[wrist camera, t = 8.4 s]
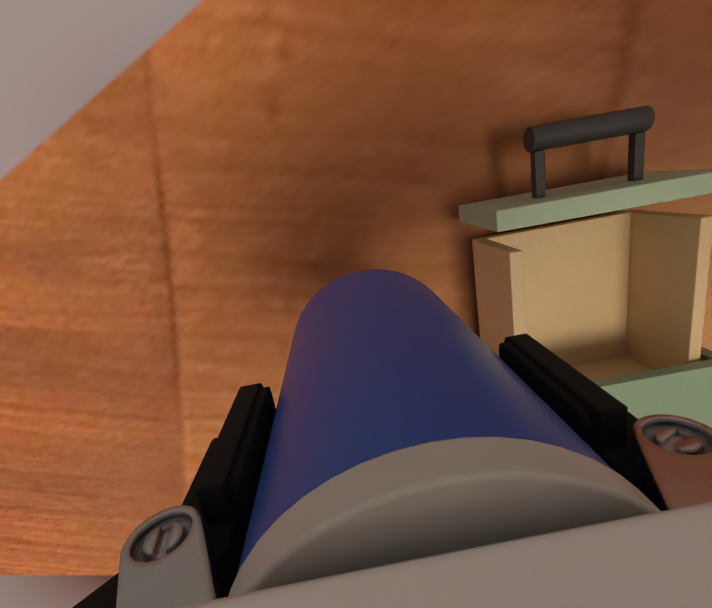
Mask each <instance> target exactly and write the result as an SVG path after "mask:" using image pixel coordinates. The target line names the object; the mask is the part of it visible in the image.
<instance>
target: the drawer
mask: <svg viewBox="0 0 712 608" xmlns="http://www.w3.org/2000/svg"><path fill="white" fill-rule="evenodd" d="M654 119H655V113H654V110H653V108H652V107H650V106H642V107H636V108H630V109H625V110H619V111H614V112H608V113H603V114H597V115H591V116H586V117H580V118H575V119H569V120H564V121H558V122H552V123H547V124H541V125H536V126H530V127H528V128H527V129H526V130H525V132H524V137H523V142H524V147H525V149H526V151H527V152H531V153H530V156H531V183H532V192H530V193H524V194H519V195H513V196H508V197H502V198H496V199H491V200H485V201H480V202H474V203H469V204H463V205H459V206H458V210H459V221H460V222H462V223H466V224H470V225H473V226H477V227H481V228H484V229H488V230H492V231H496V232H502V231H508V230H513V229H519V228H524V227H530V226H535V225H541V224H546V223H552V222H557V221H563V220H568V219H574V218H579V217H585V216H591V215H596V214H602V213H607V212H613V211H618V210H624V209H629V208H635V207H640V206H646V205H651V204H657V203H662V202H668V201H673V200H679V199H684V198H690V197H695V196H701V195H706V194H712V169H700V170H680V171H659V172H644V150H645V131H647V130H649V129H650V128H651V126H652V125H653V122H654ZM629 134H630V135H629ZM623 135H629V146H628V175H624V176H618V177H613V178H607V179H602V180H596V181H591V182H585V183H580V184H574V185H568V186H563V187H557V188H552V189H546V190H545V154H544V150H545V149H551V148H556V147H562V146H567V145H573V144H579V143H584V142H590V141H595V140H601V139H606V138H612V137H617V136H623ZM711 245H712V216H711V215H698V214H684V213H671V212H657V211H644V210H629V211H624V212H618V213H613V214H607V215H601V216H596V217H590V218H585V219H579V220H574V221H568V222H563V223H557V224H552V225H546V226H541V227H535V228H530V229H524V230H519V231H513V232H508V233H502V234H497V235H491V236H486V237H480V238H474V239H472V246H473V258H474V270H475V282H476V294H477V306H478V318H479V330H480V339H481V340H482V341H483V342H484V343H485V344H486V345H487V346H488V347H489V348H490V349H491V350H492V351H493V352H494V353H495V354H496V355H497V356H498V357H499V344H500V343H504V339H505V338H506V337H509V336H514V335H520V334H525V333H526V334H528V335H529V336H531V337H532V338H534V339H535V340H536V341H538V342H539V343H540V344H542V345H543V346H545V347H546V348H547V349H549V350H550V351H551V352H553V353H554V354H556V355H557V356H558V357H560V358H561V359H562V360H564V361H565V362H566V363H568V364H569V365H571V366H572V367H573V368H575V369H576V370H577V371H579V372H580V373H582V374H583V375H584V376H586V377H587V378H588V379H590V380H591V381H595V380H601V379H606V378H612V377H617V376H623V375H628V374H634V373H639V372H644V371H650V370H655V369H661V368H666V367H672V366H677V365H683V364H688V363H693V362H699V361H700V355H701V345H702V335H703V325H704V315H705V305H706V295H707V285H708V275H709V265H710V255H711Z"/></svg>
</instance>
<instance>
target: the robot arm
mask: <svg viewBox="0 0 712 608" xmlns="http://www.w3.org/2000/svg"><path fill="white" fill-rule="evenodd" d="M499 358H500V359H501V360H502V361H503V362H504V363H506V364H507V365H508V366H509V367H510V368H511V369H512V370H513V371H514V372H515V373H516V374H517V375H518V376H519V377H520V378H521V379H522V380H523V381H524V382H525V383H526V384H527V385H528V386H529V387H530V388H531V389H532V390H533V391H534V392H535V393H536V394H537V395H538V396H539V397H540V398H541V399H542V400H543V401H544V402H545V403H546V404H547V405H548V406H549V407H550V408H551V409H552V410H553V411H554V412H555V413H556V414H557V415H558V416H559V417H560V418H561V419H562V420H563V421H564V422H565V423H566V424H567V425H568V426H569V427H570V428H571V429H572V430H573V431H574V432H575V433H576V434H577V435H578V436H579V437H580V438H581V439H582V440H584V441H585V442H586V443H587V444H588V445H589V446H590V447H591V448H592V449H593V450H594V451H595V452H596V453H597V454H598V455H599V456H600V457H601V458H602V459H603V460H604V461H605V462H606V463H607V464H608V465H609V466H610V467H611V468H612V469H613V470H614V471H615V472H617V473H619V474H620V475H621V476H622V477H624V478H625V479H626V480H628V481H629V482H630V483H631V484H633V485H634V486H635V487H636V488H638V489H639V490H640V491H641V492H642V493H643V494H644V495H645V496H646V497H647V498H648V499H649V500H650V501H651V502H652V503H653V504H654V505H655V506H656V507H657V508H658V509H659V510H660V511H661V512H656V513H650V514H645V515H640V516H634V517H629V518H624V519H619V520H613V521H608V522H603V523H598V524H592V525H587V526H582V527H576V528H571V529H566V530H561V531H555V532H550V533H545V534H540V535H534V536H529V537H524V538H519V539H514V540H509V541H504V542H498V543H493V544H488V545H483V546H478V547H473V548H468V549H463V550H457V551H452V552H447V553H442V554H437V555H432V556H427V557H422V558H417V559H412V560H407V561H402V562H397V563H392V564H387V565H382V566H377V567H372V568H367V569H362V570H357V571H352V572H347V573H342V574H337V575H332V576H327V577H322V578H317V579H313V580H308V581H303V582H298V583H293V584H288V585H283V586H278V587H273V588H268V589H263V590H258V591H253V592H248V593H244V594H239V595H234V596H229V592H230V589H231V587H232V585H233V583H234V581H235V578H236V576H237V572H238V568H239V564H240V560H241V555H242V551H243V547H244V543H245V539H246V534H247V530H248V526H249V522H250V518H251V513H252V509H253V505H254V501H255V497H256V492H257V488H258V484H259V480H260V476H261V471H262V467H263V463H264V459H265V455H266V450H267V446H268V442H269V438H270V434H271V429H272V425H273V421H274V417H275V413H276V408H275V404H274V401H273V397H272V393H271V390H270V388H269V387H265V388H263V385H262V384H261V383H259V384H253V385H248V386H243V387H240V389H239V391H238V393H237V396H236V398H235V400H234V402H233V405H232V407H231V409H230V411H229V414H228V416H227V418H226V420H225V423H224V425H223V427H222V429H221V432H220V434H219V436H218V438H215V439H213V440H212V442H211V443H210V446H209V448H208V450H207V452H206V454H205V456H204V459H203V461H202V463H201V465H200V467H199V469H198V471H197V474H196V476H195V478H194V480H193V482H192V484H191V487H190V489H189V491H188V493H187V495H186V497H185V499H184V502H183V504H182V505H181V506H175V507H171V508H168V509H165V510H162V511H160V512H158V513H157V514H155V515H153V516H151V517H149V518H148V519H147V520H145V521H144V522H143V523H142V524H140V525H139V526H138V527H137V528H136V529H135V530H134V531H133V532H132V533H131V534H130V536H129V537H128V539H127V540H126V542H125V543H124V545H123V548H122V551H121V555H120V565H119V573H118V574H116V575H115V576H114V577H112V578H111V579H110V580H109V581H107V582H106V583H104V584H103V585H102V586H100V587H99V588H98V589H96V590H95V591H94V592H92V593H91V594H90V595H89V596H87V597H86V598H85V599H83V600H82V601H81V602H79V603H78V604H77V605H75V606H74V607H73V608H712V428H711V427H709V426H707V425H706V424H703V423H700V422H698V421H695V420H693V419H689V418H685V417H681V416H676V415H667V414H655V415H648V416H644V417H642V418H640V419H637V418H636V417H635V416H633V415H632V414H631V413H629V412H628V407H627V406H626V405H624V404H623V403H621V402H620V401H619V400H617V399H616V398H615V397H613V396H612V395H610V394H609V393H608V392H606V391H605V390H604V389H602V388H601V387H599V386H598V385H597V384H595V383H594V382H593V381H591V380H590V379H588V378H587V377H586V376H584V375H583V374H582V373H580V372H579V371H577V370H576V369H575V368H573V367H572V366H571V365H569V364H568V363H566V362H565V361H564V360H562V359H561V358H560V357H558V356H557V355H556V354H554V353H553V352H551V351H550V350H549V349H547V348H546V347H545V346H543V345H542V344H540V343H539V342H538V341H536V340H535V339H534V338H532V337H531V336H529V335H528V334H526V333H525V334H520V335H514V336H509V337H506V338H505V339H504V343H500V344H499ZM228 596H229V597H228Z"/></svg>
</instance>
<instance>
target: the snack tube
mask: <svg viewBox="0 0 712 608" xmlns="http://www.w3.org/2000/svg"><path fill="white" fill-rule="evenodd" d="M656 512H661V511H660V510H659V509H658V508H657V507H656V506H655V505H654V504H653V503H652V502H651V501H650V500H649V499H648V498H647V497H646V496H645V495H644V494H643V493H642V492H641V491H640V490H639V489H638V488H636V487H635V486H634V485H633V484H631V483H630V482H629V481H628V480H626V479H625V478H624V477H622V476H621V475H620V474H619V473H617V472H615V471H614V470H613V469H612V468H611V467H610V466H609V465H608V464H607V463H606V462H605V461H604V460H603V459H602V458H601V457H600V456H599V455H598V454H597V453H596V452H595V451H594V450H593V449H592V448H591V447H590V446H589V445H588V444H587V443H586V442H585V441H584V440H582V439H581V438H580V437H579V436H578V435H577V434H576V433H575V432H574V431H573V430H572V429H571V428H570V427H569V426H568V425H567V424H566V423H565V422H564V421H563V420H562V419H561V418H560V417H559V416H558V415H557V414H556V413H555V412H554V411H553V410H552V409H551V408H550V407H549V406H548V405H547V404H546V403H545V402H544V401H543V400H542V399H541V398H540V397H539V396H538V395H537V394H536V393H535V392H534V391H533V390H532V389H531V388H530V387H529V386H528V385H527V384H526V383H525V382H524V381H523V380H522V379H521V378H520V377H519V376H518V375H517V374H516V373H515V372H514V371H513V370H512V369H511V368H510V367H509V366H508V365H507V364H506V363H504V362H503V361H502V360H501V359H500V358H499V357H498V356H497V355H496V354H495V353H494V352H493V351H492V350H491V349H490V348H489V347H488V346H487V345H486V344H485V343H484V342H483V341H482V340H481V339H480V338H479V337H478V336H477V335H476V334H475V333H474V332H473V331H472V330H471V329H470V328H469V327H468V326H467V325H466V324H465V323H464V322H463V321H462V320H461V319H460V318H459V317H458V316H457V315H456V314H455V313H454V312H453V311H452V310H451V309H450V308H449V307H448V306H447V305H446V304H445V303H444V302H443V301H442V300H441V299H440V298H439V297H438V296H437V295H436V294H435V293H434V292H433V291H432V290H430V289H429V288H428V287H427V286H425V285H424V284H423V283H421V282H420V281H418V280H416V279H415V278H412V277H410V276H408V275H405V274H402V273H399V272H395V271H389V270H364V271H358V272H354V273H350V274H348V275H345V276H343V277H340V278H338V279H336V280H334V281H333V282H331V283H329V284H328V285H326V286H325V287H324V288H322V289H321V290H320V291H319V292H318V293H317V294H316V295H315V296H314V297H313V298H312V299H311V300H310V302H309V303H308V304H307V305H306V307H305V309H304V310H303V312H302V314H301V315H300V318H299V320H298V323H297V325H296V329H295V333H294V337H293V341H292V345H291V349H290V354H289V358H288V362H287V366H286V370H285V375H284V379H283V383H282V387H281V391H280V396H279V400H278V404H277V408H276V413H275V417H274V421H273V425H272V429H271V434H270V438H269V442H268V446H267V450H266V455H265V459H264V463H263V467H262V471H261V476H260V480H259V484H258V488H257V492H256V497H255V501H254V505H253V509H252V513H251V518H250V522H249V526H248V530H247V534H246V539H245V543H244V547H243V551H242V555H241V560H240V564H239V568H238V572H237V576H236V578H235V581H234V583H233V585H232V587H231V589H230V592H229V596H234V595H239V594H244V593H248V592H253V591H258V590H263V589H268V588H273V587H278V586H283V585H288V584H293V583H298V582H303V581H308V580H313V579H317V578H322V577H327V576H332V575H337V574H342V573H347V572H352V571H357V570H362V569H367V568H372V567H377V566H382V565H387V564H392V563H397V562H402V561H407V560H412V559H417V558H422V557H427V556H432V555H437V554H442V553H447V552H452V551H457V550H463V549H468V548H473V547H478V546H483V545H488V544H493V543H498V542H504V541H509V540H514V539H519V538H524V537H529V536H534V535H540V534H545V533H550V532H555V531H561V530H566V529H571V528H576V527H582V526H587V525H592V524H598V523H603V522H608V521H613V520H619V519H624V518H629V517H634V516H640V515H645V514H650V513H656ZM229 596H228V597H229Z"/></svg>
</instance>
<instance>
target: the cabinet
mask: <svg viewBox="0 0 712 608" xmlns="http://www.w3.org/2000/svg"><path fill="white" fill-rule="evenodd" d="M593 382H594V383H595V384H597V385H598V386H599V387H601V388H602V389H604V390H605V391H606V392H608V393H609V394H610V395H612V396H613V397H615V398H616V399H617V400H619V401H620V402H621V403H623V404H624V405H626V406H627V407H628V412H629V413H631V414H632V415H633V416H635V417H636V418H637V419H640V418H642V417H644V416H648V415H655V414H667V415H676V416H681V417H685V418H689V419H693V420H695V421H698V422H700V423H703V424H706V425H707V426H709V427H711V428H712V351H710V350H708V349H706V348H704V347H701V355H700V361H699V362H693V363H688V364H683V365H677V366H672V367H666V368H661V369H655V370H650V371H644V372H639V373H634V374H628V375H623V376H617V377H612V378H606V379H601V380H595V381H593Z"/></svg>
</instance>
